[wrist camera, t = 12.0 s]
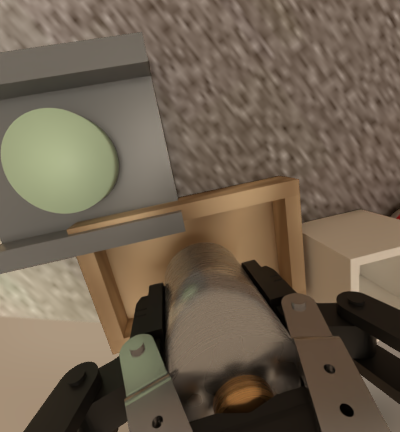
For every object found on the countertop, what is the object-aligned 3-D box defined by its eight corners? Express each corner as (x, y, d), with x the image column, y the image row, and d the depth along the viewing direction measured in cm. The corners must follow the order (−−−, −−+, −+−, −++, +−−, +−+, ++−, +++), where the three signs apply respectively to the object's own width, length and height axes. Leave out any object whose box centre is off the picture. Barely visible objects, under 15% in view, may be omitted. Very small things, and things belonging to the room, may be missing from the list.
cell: (234, 234, 13) (323, 333, 6) (244, 300, 14) (328, 451, 7) (156, 252, 13) (146, 384, 5) (173, 319, 14) (185, 501, 7)
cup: (360, 209, 18) (450, 233, 12) (360, 274, 20) (439, 323, 14) (290, 225, 18) (350, 259, 12) (295, 292, 19) (351, 349, 14)
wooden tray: (279, 175, 16) (298, 179, 14) (289, 283, 19) (307, 301, 17) (81, 218, 15) (66, 229, 13) (119, 327, 18) (112, 354, 15)
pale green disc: (103, 106, 13) (95, 99, 11) (129, 197, 14) (124, 202, 12) (4, 123, 12) (-19, 118, 11) (41, 215, 14) (25, 223, 12)
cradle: (146, 58, 13) (141, 31, 11) (181, 218, 16) (185, 231, 13) (-54, 89, 12) (-120, 69, 10) (20, 254, 15) (-14, 277, 12)
